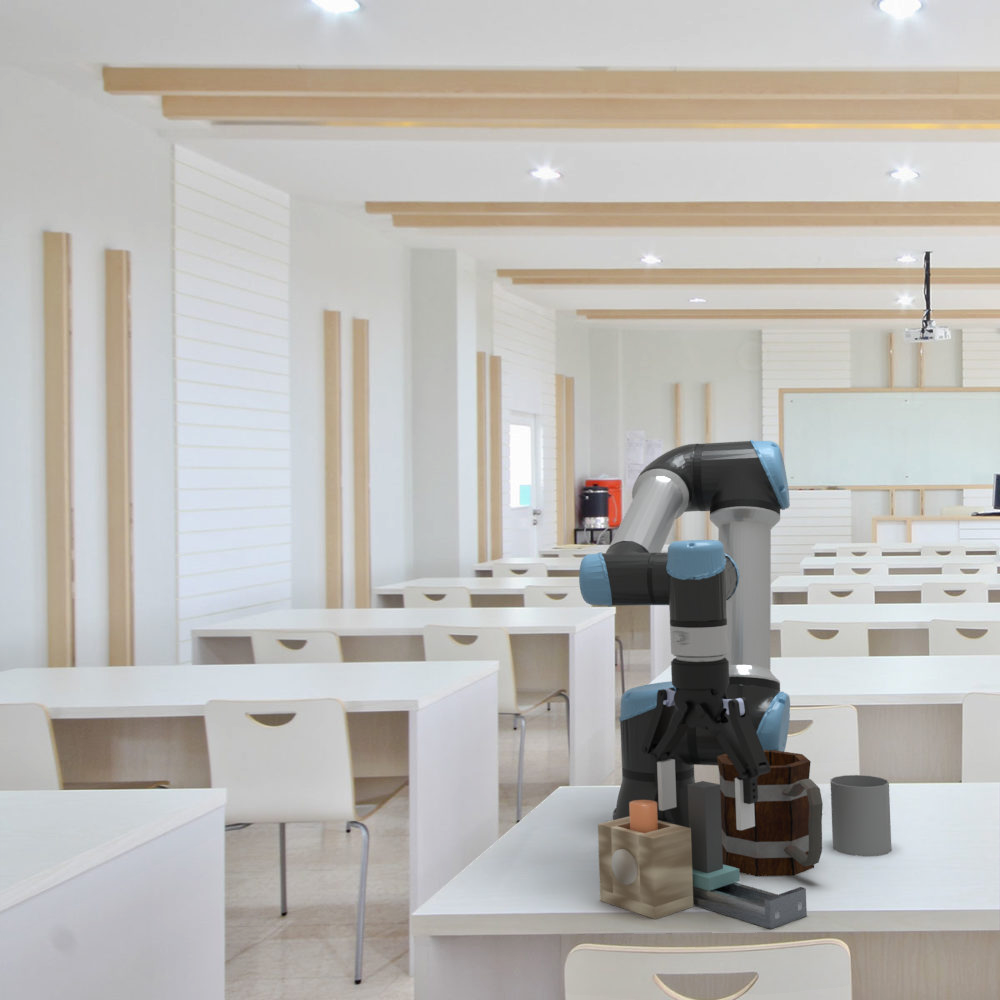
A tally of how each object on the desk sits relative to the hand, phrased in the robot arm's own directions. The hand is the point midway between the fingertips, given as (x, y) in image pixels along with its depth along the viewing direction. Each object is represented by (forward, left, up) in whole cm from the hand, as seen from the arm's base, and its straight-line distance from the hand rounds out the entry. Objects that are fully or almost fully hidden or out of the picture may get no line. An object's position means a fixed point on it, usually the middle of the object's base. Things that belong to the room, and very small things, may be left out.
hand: (705, 818), depth 154 cm
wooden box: (-4, -8, -10) cm, 13 cm away
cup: (0, +34, -10) cm, 35 cm away
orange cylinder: (-4, -8, -5) cm, 10 cm away
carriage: (0, 0, -8) cm, 8 cm away
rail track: (+4, 0, -10) cm, 11 cm away
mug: (-2, +17, -10) cm, 20 cm away
